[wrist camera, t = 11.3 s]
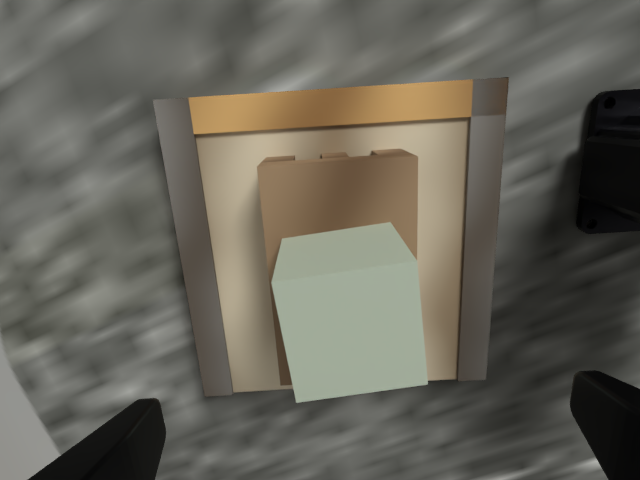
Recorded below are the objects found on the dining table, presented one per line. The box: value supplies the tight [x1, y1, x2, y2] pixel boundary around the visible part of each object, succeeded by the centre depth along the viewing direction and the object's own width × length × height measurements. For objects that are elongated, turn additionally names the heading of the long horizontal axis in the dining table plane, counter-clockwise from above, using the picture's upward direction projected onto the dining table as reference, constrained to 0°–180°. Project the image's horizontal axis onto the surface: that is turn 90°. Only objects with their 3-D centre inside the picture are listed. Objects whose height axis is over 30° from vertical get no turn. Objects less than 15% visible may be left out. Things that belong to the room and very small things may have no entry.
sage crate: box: [271, 222, 428, 403], centre depth 14 cm, size 4×4×4 cm
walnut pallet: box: [257, 149, 418, 386], centre depth 17 cm, size 6×9×3 cm, turn 4°
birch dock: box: [153, 77, 509, 397], centre depth 19 cm, size 14×14×2 cm
